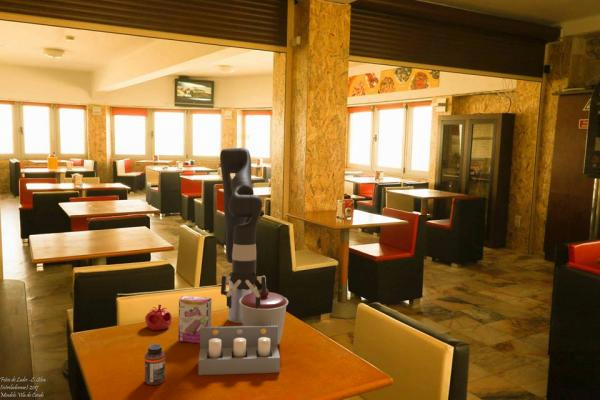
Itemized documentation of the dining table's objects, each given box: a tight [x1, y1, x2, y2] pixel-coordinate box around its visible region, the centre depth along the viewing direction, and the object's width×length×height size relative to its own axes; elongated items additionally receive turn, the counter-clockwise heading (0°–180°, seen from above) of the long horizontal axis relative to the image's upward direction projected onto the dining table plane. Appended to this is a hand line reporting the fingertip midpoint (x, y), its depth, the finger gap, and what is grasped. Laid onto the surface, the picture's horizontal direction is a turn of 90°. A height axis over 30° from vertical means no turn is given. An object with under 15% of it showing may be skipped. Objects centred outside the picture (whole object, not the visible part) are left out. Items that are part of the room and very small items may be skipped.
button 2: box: [258, 337, 270, 357], centre depth 161 cm, size 4×4×5 cm
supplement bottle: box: [144, 343, 166, 386], centre depth 149 cm, size 6×6×11 cm
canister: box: [239, 288, 289, 346], centre depth 179 cm, size 18×18×21 cm
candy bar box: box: [177, 295, 213, 344], centre depth 180 cm, size 11×5×16 cm, turn 84°
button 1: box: [209, 338, 221, 358], centre depth 158 cm, size 4×4×5 cm
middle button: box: [233, 338, 246, 357], centre depth 159 cm, size 4×4×5 cm
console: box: [197, 325, 281, 376], centre depth 161 cm, size 10×26×12 cm, turn 98°
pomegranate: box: [144, 304, 172, 331], centre depth 192 cm, size 10×10×9 cm
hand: (243, 307), depth 155 cm, fingers open, 8 cm apart
